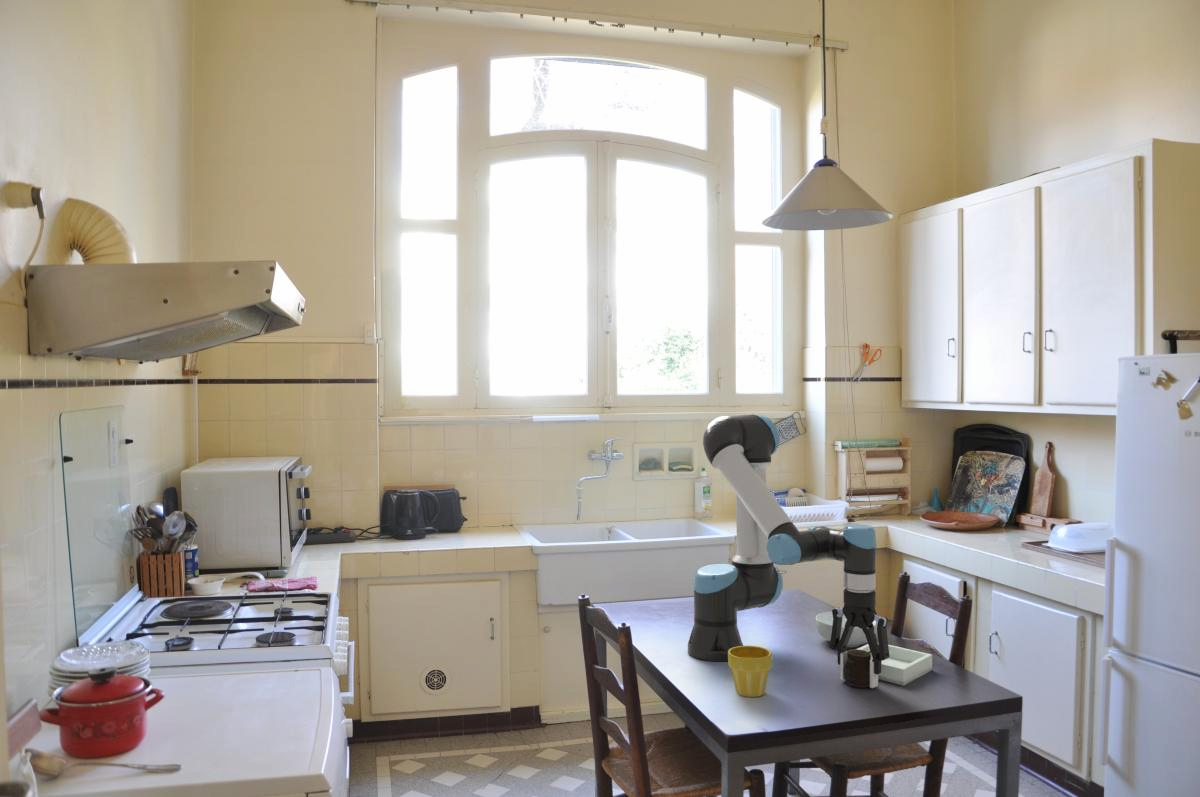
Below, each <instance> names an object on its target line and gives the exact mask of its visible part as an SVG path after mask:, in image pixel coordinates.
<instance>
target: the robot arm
mask: <svg viewBox="0 0 1200 797" xmlns="http://www.w3.org/2000/svg"><path fill="white" fill-rule="evenodd" d="M702 438H703V439H702V446H703V450H704V453H705V454H704V455H705V456H706V458H707V460H708V462H709V463H710V465H711V466H712V468H713V469H714V470H716V471H720V472H721V474H722V476H724V477H723V478H725V479H726V481H727V483H728V485H730V487H731V488H732V490H733V491H734V493H735V516H736V518H735V519H736V520H735V524H736V527H735V528H736V554H735V555H734V556H733V557H732V558H731V564H729V563H718V564H717V563H716V564H715V563H714V564H713V563H712V564H708V565H704V566H701V567H700V568H699V569H697V571H696V572H695V573H694V580H693V581H694V582H693V595H694V596H693V602H694V603H693V604H694V605H693V606H694V607H693V613H694V614H693V616H694V618H693V627H692V630H691V632H690V635H689V639H688V642H687V653H688V655H690V656H691V657H693V658H695V659H699V660H703V661H710V662H727V661H728V651H729V649H731V648H733V647H737V646H744V644H743V642H742V638H741V635H740V631H739V630H740V629H739V627H738V612H740V611H746V610H747V611H748V610H750V609H756V608H758V609H759V608H764V607H766V606H769V605H772V604H774V603H775V602H777V600H778V599H779V598H780V597H781V595H782V593H783V592H782V591H783V588H784V587H783V586H784V583H783V576H782V573H780V569H779V567H777V566H794V565H796V564H800V563H805V562H815V561H821V560H826V559H829V560H833V561H834V560H835V561H838V562H843V583H842V584H843V587H844V589H843V595H842V596H843V600H842V601H843V607H836V608H833V609H832V610H831V611H832V614H833V625H832V633H831V641H829V644H830V645H829V646H830V648H832V649H834V650H835V651H836V653H837V657H836V658H837V664H838V665H839V666H840V667H839V670H840V673H839V675H840V676H839V679H840V680H841V681H844V680H845V677H844V666H845V664H846V661H847V658H848V657H847V651H848V650H847V649H848V647H847V645H848V642H849V639H850V637H851V634H852V632H853V629H854V627H859V628H861V629H862V630H863V633H865V636H866V639H867V642H868V643H867V644H868V645H869V648H870V651H871V654H872V657H873V659H872V660H870V685H869V688H870V689H874V688H876V687H878V686H879V679H878V674H880V673H881V662H882V660H885V659H888V658H889V647H888V645H889V639H888V638H889V637H888V631H887V630H888V628H887V626H888V625H887V624H888V621H889V619H888V617H887V616H880V615H878V614H877V611H876V599H877V596H876V594H877V593H876V590H875V589H876V588H877V587H876V584H877V583H876V576H877V575H876V574H877V573H876V560H877V536H876V530H875V528H874V527H873V526H871V525H866V524H859V523H854V524H852V523H851V524H847V525H845V526H844V528H843V530H839V529H835V528H832V527H827V526H825V525H824V526H823V525H822V526H819V525H813V526H810V527H809V528H808V529H807V530H801V531H800V530H799V529H798V528H797V526H796V525H795V524H794V523H793V521H792V520H791V518H790V517H789V516H788V514H787V513H786V512H785V510H784V508H783V507H782V506H781V504H780V503H779V502H778V500H777V498H775V496H774V495H773V493H772V492H771V491H770V489H769V488H768V487H767V468H768V467H769V466H770V465H771V463H772V455H774V454H775V453H776V452H777V449H778V448H779V446H780V440H781V439H780V433H779V429H778V428H777V426H776V424H775V423H774V422H773V421H772V419H771V418H770V417H768V416H765V415H762V414H761V415H760V414H744V415H720V416H718V417H715V418H714V419H713V420H712V421H711V422H710V423H708V425H707V426H706V428H705V429H704V433H703V437H702ZM843 615H845V617H846V619H847V621H846V623H845V626H844V627H845V628H844V631H843V634H842V636H841V639H840V635H841V627H842V616H843ZM874 620H875V621H876V625H877V632H876V635H877V636H876V635H875V632H874V626H873V623H872V622H873V621H874ZM867 627H868V628H867ZM878 643H879V645H878ZM845 681H846V680H845Z"/></svg>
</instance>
